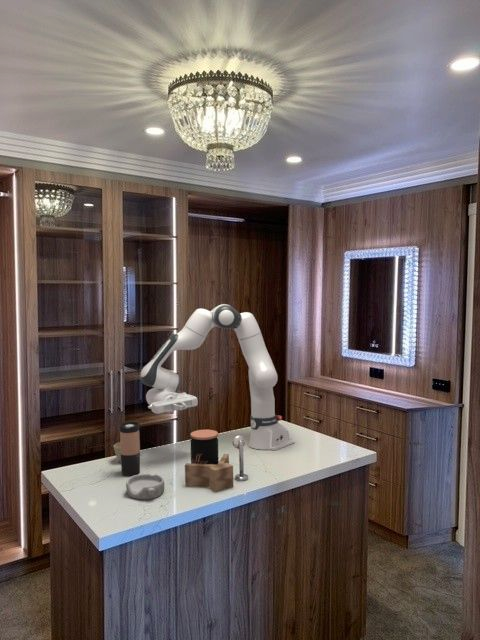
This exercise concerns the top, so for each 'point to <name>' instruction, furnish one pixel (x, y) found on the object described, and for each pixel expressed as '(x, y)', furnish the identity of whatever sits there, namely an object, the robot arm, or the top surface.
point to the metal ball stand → (240, 457)
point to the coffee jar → (204, 447)
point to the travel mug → (130, 448)
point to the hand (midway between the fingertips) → (183, 407)
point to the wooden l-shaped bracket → (210, 475)
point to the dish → (145, 486)
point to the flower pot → (117, 451)
